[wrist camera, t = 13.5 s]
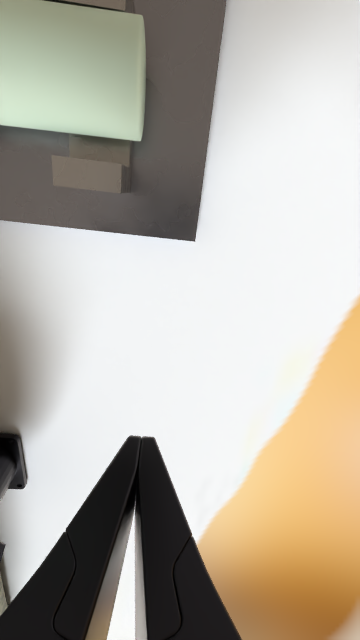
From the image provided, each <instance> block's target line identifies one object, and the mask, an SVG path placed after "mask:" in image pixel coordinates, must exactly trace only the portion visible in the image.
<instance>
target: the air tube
mask: <svg viewBox="0 0 360 640" xmlns="http://www.w3.org/2000/svg"><path fill="white" fill-rule="evenodd" d="M145 92H146V46H145V28H144V20H143V16H142V15H139V14H132V13H125V12H118V11H111V10H105V9H98V8H91V7H84V6H77V5H70V4H64V3H57V2H50V1H43V0H0V125H5V126H13V127H22V128H30V129H39V130H47V131H56V132H64V133H73V134H82V135H90V136H99V137H107V138H116V139H124V140H133V141H141V139H142V134H143V126H144V114H145Z"/></svg>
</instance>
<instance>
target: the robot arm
mask: <svg viewBox="0 0 360 640" xmlns="http://www.w3.org/2000/svg"><path fill="white" fill-rule="evenodd" d="M26 484H27V479H26V473H25V467H24V460H23V454H22V448H21V441H20V438H19V436H17V435H14V434H0V502H1V500H2V498H3V496H4V494H5V492H6V491H7V489H23V488H25V486H26ZM135 501H136V503H135ZM134 509H135V640H242V639H241V637H240V635H239V633H238V631H237V629H236V627H235V625H234V623H233V621H232V619H231V618H230V616H229V614H228V612H227V610H226V608H225V606H224V604H223V602H222V600H221V598H220V596H219V594H218V592H217V590H216V589H215V586H214V584H213V582H212V580H211V578H210V576H209V574H208V572H207V570H206V567H205V565H204V562H203V560H202V558H201V555H200V553H199V551H198V548H197V545H196V543H195V540H194V538H193V537H192V533H191V530H190V528H189V525H188V522H187V520H186V517H185V515H184V512H183V509H182V507H181V504H180V502H179V499H178V497H177V494H176V491H175V489H174V486H173V484H172V481H171V478H170V476H169V473H168V471H167V468H166V466H165V463H164V460H163V458H162V455H161V453H160V450H159V447H158V445H157V442H156V440H155V438H154V437H146V436H144V437H142V438H141V437H140V436H129V437H128V438H127V439H126V441H125V442H124V444H123V445H122V447H121V448H120V450H119V451H118V453H117V454H116V456H115V457H114V459H113V460H112V462H111V463H110V465H109V466H108V468H107V469H106V471H105V472H104V474H103V475H102V476H101V478H100V479H99V481H98V482H97V484H96V485H95V487H94V488H93V490H92V491H91V493H90V494H89V496H88V497H87V499H86V500H85V502H84V503H83V505H82V506H81V508H80V509H79V511H78V512H77V514H76V515H75V516H74V518H73V519H72V521H71V522H70V524H69V525H68V527H67V528H66V532H64V533H63V534H62V536H61V537H60V538H59V540H58V541H57V543H56V544H55V546H54V547H53V549H52V550H51V552H50V553H49V554H48V556H47V557H46V559H45V560H44V561H43V563H42V564H41V566H40V567H39V568H38V569H37V571H36V572H35V573H34V575H33V576H32V577H31V578H30V580H29V581H28V582H27V583H26V585H25V586H24V587H23V589H22V590H21V591H20V592H19V593H18V595H17V596H16V597H15V598H14V600H13V601H12V602H11V603H10V604H9V606H8V607H7V608H6V609H5V611H4V612H3V613H2V614H1V615H0V640H107V635H108V631H109V626H110V621H111V617H112V612H113V608H114V603H115V598H116V594H117V589H118V584H119V580H120V575H121V571H122V566H123V561H124V557H125V552H126V548H127V543H128V538H129V534H130V529H131V525H132V520H133V515H134ZM5 545H6V544H4V543H2V542H0V561H1V558H2V555H3V552H4V548H5Z"/></svg>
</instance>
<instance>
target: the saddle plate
mask: <svg viewBox="0 0 360 640" xmlns="http://www.w3.org/2000/svg"><path fill="white" fill-rule="evenodd" d="M43 1H50V2H57V3H64V4H70V5H77V6H84V7H91V8H98V9H105V10H111V11H118V12H125V13H132V14H139V15H142V16H143V20H144V28H145V46H146V92H145V114H144V126H143V134H142V139H141V141H133V140H124V139H116V138H107V137H99V136H90V135H82V134H73V133H64V132H56V131H47V130H39V129H30V128H22V127H13V126H5V125H0V220H4V221H13V222H22V223H31V224H40V225H49V226H59V227H68V228H77V229H86V230H95V231H104V232H113V233H123V234H132V235H141V236H150V237H159V238H168V239H177V240H186V241H195V238H196V230H197V222H198V215H199V207H200V199H201V191H202V184H203V176H204V168H205V161H206V153H207V145H208V138H209V130H210V122H211V115H212V107H213V99H214V91H215V84H216V76H217V68H218V61H219V53H220V45H221V38H222V30H223V22H224V15H225V7H226V0H43Z"/></svg>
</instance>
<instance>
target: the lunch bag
mask: <svg viewBox="0 0 360 640" xmlns="http://www.w3.org/2000/svg"><path fill="white" fill-rule="evenodd" d="M7 607H8V605H7V602H6V597H5V593H4V588H3V583H2V578H1V573H0V615H1V614H2V613H3V612H4V611H5V609H6V608H7Z"/></svg>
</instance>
